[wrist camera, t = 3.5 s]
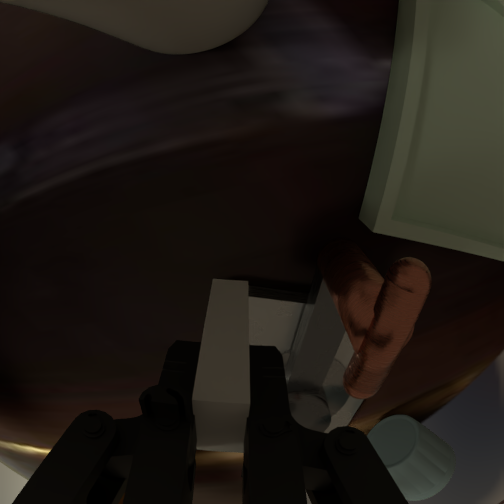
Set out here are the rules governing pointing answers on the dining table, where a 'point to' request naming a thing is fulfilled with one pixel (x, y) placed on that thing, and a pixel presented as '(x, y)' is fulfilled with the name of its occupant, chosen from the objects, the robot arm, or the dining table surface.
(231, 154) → the dining table surface
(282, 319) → the crank plate
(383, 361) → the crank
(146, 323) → the dining table surface
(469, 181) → the tray
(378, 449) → the cup
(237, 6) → the candle holder
